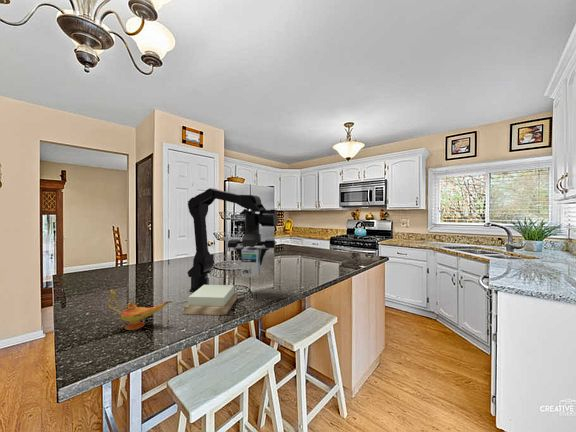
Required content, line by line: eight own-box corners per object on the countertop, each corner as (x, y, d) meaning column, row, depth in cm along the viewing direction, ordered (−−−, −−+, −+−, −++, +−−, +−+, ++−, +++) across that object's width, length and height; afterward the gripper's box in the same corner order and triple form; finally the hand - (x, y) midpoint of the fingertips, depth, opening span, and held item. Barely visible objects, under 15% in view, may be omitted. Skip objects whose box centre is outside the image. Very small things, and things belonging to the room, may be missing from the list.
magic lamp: (169, 328, 74) (169, 291, 74) (101, 333, 72) (100, 293, 71) (175, 318, 81) (175, 284, 81) (113, 322, 78) (113, 286, 78)
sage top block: (188, 305, 86) (188, 296, 86) (203, 292, 100) (203, 284, 100) (223, 306, 86) (223, 297, 86) (234, 292, 100) (234, 285, 100)
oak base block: (184, 316, 85) (184, 307, 85) (202, 299, 101) (202, 291, 101) (225, 316, 84) (225, 307, 84) (237, 299, 100) (237, 292, 100)
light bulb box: (258, 277, 99) (258, 249, 98) (240, 277, 99) (241, 249, 99) (262, 271, 109) (262, 245, 109) (246, 270, 109) (246, 245, 109)
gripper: (223, 227, 96) (223, 269, 96) (273, 227, 95) (273, 269, 95) (231, 225, 107) (231, 262, 107) (275, 225, 106) (275, 263, 107)
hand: (252, 264), depth 104 cm, fingers closed on light bulb box, 7 cm apart
